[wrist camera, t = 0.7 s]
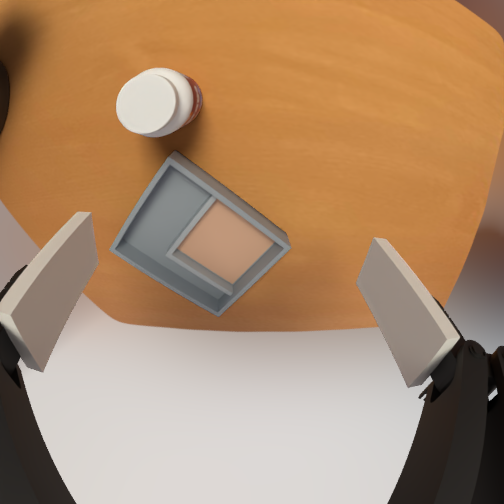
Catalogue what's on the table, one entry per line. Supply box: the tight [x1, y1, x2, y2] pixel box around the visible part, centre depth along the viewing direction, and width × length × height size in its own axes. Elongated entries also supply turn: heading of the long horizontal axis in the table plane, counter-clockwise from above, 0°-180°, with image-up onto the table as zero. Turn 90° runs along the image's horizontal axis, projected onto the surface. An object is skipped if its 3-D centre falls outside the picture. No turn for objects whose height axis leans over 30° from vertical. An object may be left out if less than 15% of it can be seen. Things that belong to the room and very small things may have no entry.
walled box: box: [110, 150, 291, 317], centre depth 34 cm, size 17×14×4 cm
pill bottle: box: [116, 68, 202, 137], centre depth 22 cm, size 6×6×11 cm
